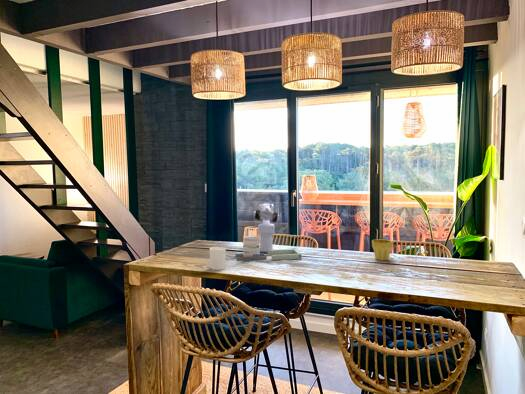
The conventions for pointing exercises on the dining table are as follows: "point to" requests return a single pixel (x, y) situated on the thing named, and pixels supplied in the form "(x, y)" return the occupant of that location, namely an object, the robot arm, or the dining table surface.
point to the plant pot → (382, 248)
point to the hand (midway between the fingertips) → (266, 219)
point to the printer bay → (240, 256)
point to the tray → (284, 254)
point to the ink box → (251, 246)
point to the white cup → (217, 258)
